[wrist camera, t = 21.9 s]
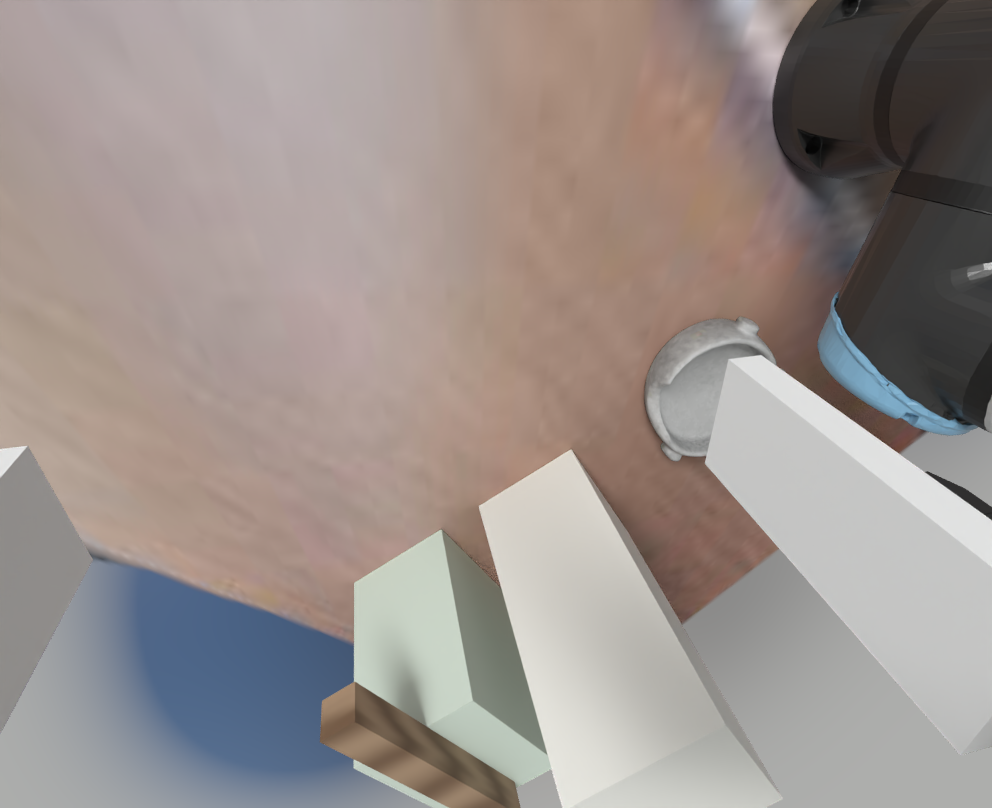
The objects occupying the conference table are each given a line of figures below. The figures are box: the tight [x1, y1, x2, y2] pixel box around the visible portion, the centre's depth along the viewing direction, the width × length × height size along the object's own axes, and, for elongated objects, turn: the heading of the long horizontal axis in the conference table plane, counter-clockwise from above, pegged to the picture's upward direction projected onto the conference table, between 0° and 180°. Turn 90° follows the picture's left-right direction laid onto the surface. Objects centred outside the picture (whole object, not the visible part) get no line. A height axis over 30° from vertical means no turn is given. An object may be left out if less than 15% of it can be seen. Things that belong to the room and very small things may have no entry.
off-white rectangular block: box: [479, 450, 783, 808], centre depth 52 cm, size 16×12×30 cm
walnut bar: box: [320, 682, 520, 808], centre depth 46 cm, size 24×3×3 cm, turn 31°
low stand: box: [354, 529, 551, 808], centre depth 58 cm, size 16×12×20 cm
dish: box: [645, 317, 786, 461], centre depth 57 cm, size 14×14×5 cm
